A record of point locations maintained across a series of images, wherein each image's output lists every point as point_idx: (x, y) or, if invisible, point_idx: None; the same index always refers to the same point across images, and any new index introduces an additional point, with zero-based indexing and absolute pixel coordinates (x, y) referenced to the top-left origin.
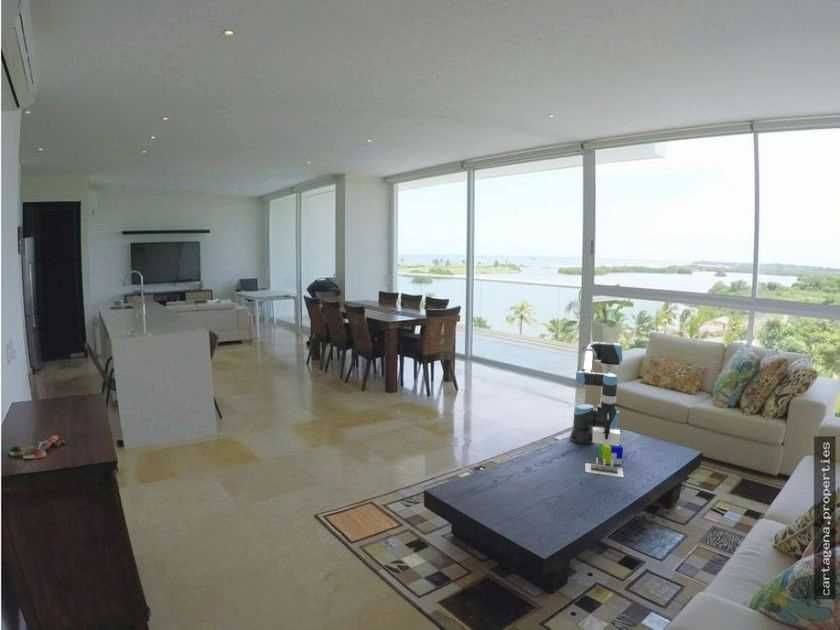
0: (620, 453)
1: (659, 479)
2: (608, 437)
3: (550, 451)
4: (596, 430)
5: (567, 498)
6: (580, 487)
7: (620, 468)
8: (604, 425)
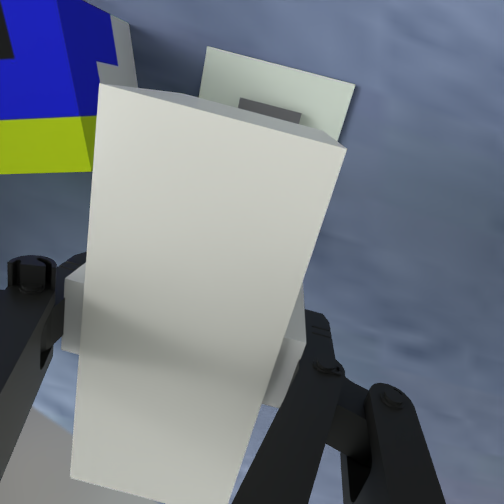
0: (90, 23)
1: None
2: (301, 309)
3: (55, 390)
4: (207, 482)
5: None
6: (467, 367)
7: (217, 62)
8: (37, 385)
